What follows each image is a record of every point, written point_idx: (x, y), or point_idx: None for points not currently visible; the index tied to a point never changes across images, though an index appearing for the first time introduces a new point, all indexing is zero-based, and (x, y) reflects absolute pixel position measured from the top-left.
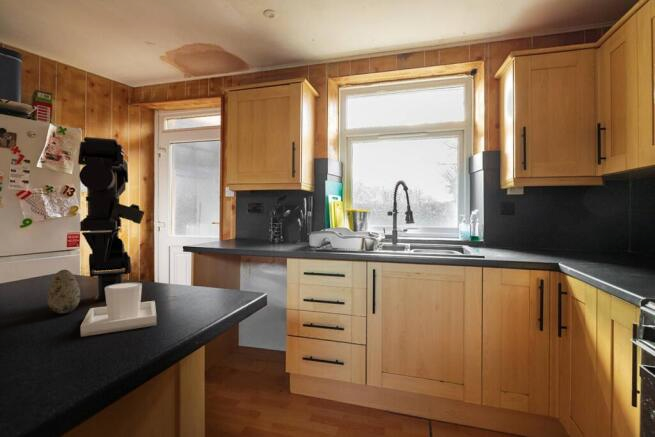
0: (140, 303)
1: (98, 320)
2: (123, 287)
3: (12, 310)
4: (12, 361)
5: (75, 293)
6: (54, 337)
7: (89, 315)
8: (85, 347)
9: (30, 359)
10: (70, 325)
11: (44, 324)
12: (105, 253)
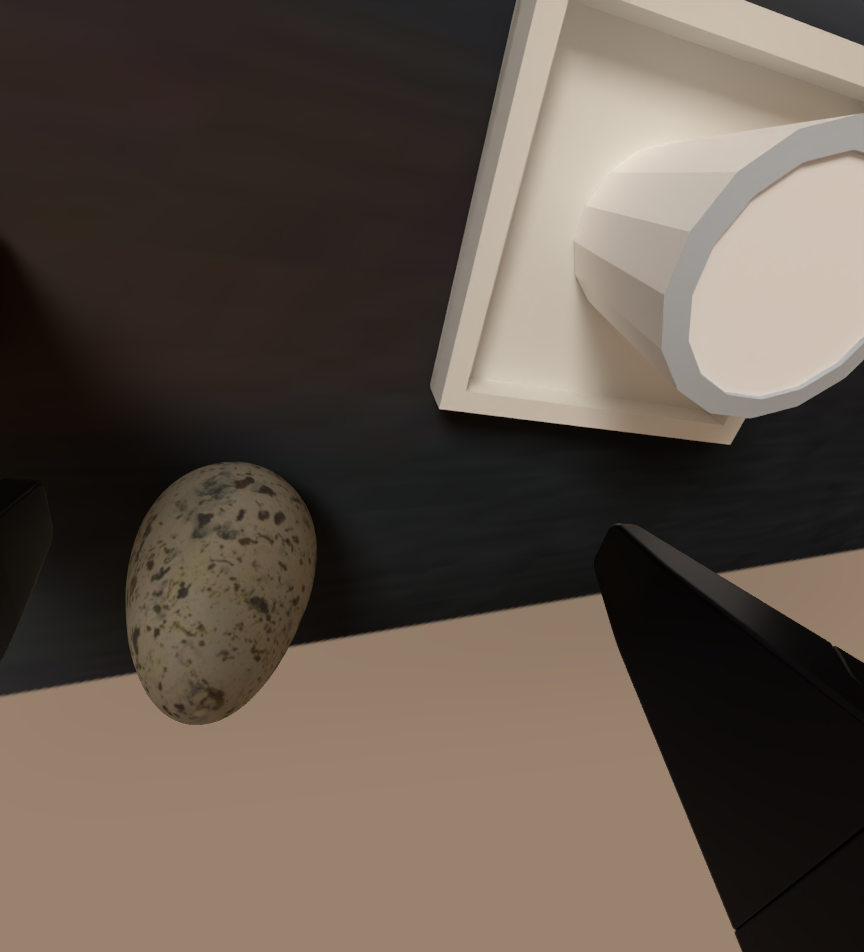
0: (543, 88)
1: (583, 362)
2: (847, 299)
3: (53, 670)
4: (746, 559)
5: (286, 518)
6: (625, 496)
7: (593, 414)
8: (830, 407)
9: (774, 527)
10: (507, 459)
11: (411, 541)
12: (743, 594)
